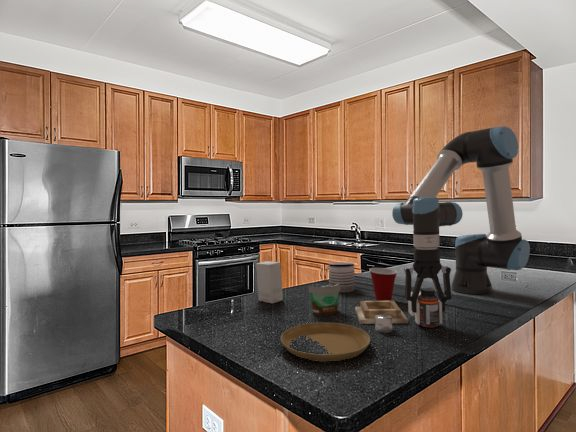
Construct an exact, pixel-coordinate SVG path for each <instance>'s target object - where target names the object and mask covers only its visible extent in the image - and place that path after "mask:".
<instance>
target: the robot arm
mask: <svg viewBox="0 0 576 432" xmlns="http://www.w3.org/2000/svg"><path fill="white" fill-rule="evenodd" d="M518 142H519V141H518V139H517V136H516V134H515V132H514V131H513V130H512V129H511V128H510V127H508V126H503V125H502V126H493V127H489V128H484V129H479V130H472V131H466V132H462V133H461V134H458V135H457V136H456V137H454V138H452V139H451V140H450V141H449V142H448V143H446V144H445V146H443V148H441V150H440V151H439V152H438V154H437V156H436V161H435V162H434V163H433V165H432V166H431V168H429V170H428V171H427V173H426V174H425V175H424V177H423V179H422V180H421V181H420V182H419V184H418V185H417V186H416V187H415V189H414V190H413V192H411V194H410V196H409V197H408V199H407V200H406V201H405V202H400V203H397V204H395V205H394V206H393V208H392V218H393V221H394V222H395V223H396V224H398V225H405V226H410V225H411V226H412V229H413V231H412V235H413V236H412V237H413V247H414V249H413V263H412V266H408V267H404V268H403V271H404V273H405V282H404V284H405V287H404V298H405V299H406V300H407V302H408V301H411V309H412V312H413V313H415V316H414V322H415V323H416V324H417V325H419V324H420V309H419V302H418V301H417V299H418V295H419V292H421V287H422V285H423V282H424V280H425V279H431V281H432V283H433V287H434V289H435V293H436V294H437V295H436V296H437V297H438V308H439V325H441V324H443V313H445V312H446V303H447V301H450V300H451V299H452V291H454V292H457V293H460V294H466V295H467V294H468V295H486V294H487V295H488V294H490V293H492V292H493V285H492V282H491V279H490V277H489V275H488V268H492V269H493V268H494V269H500V270H507V271H510V270H511V271H521V270H522V269H524V267H526V265H527V263H528V261H529V259H530V253H531V246H530V243H529V241H528V240H526V239H524V238H523V236H522V232H520V231H519V230H518V229H517V228H516V227H517V226H516V218H515V217H516V216H515V209H514V203H513V202H514V200H513V193H512V186H511V185H512V183H511V177H510V176H511V175H510V169H509V168H510V167H511V165H512V164H513V163H514V160H513V159H514V158H516V157H517V155H518V153H519V143H518ZM469 163H476V168H477V169H478V170H480V171H481V173H482V180H483V186H484V193H485V203H486V208H487V209H486V210H487V216H488V217H487V218H488V224H489V230H490V231H489V233H488V234H486V233H477V234H466V235H459V236H457V237H456V238H455V246H454V248H455V252H454V253H455V273H454V275H453V278H452V282H451V278H450V277H451V276H450V275H451V271H452V268H451V267H449V266H448V265H447V266H446V265H442V264H441V249H440V248H439V247H440V246H441V245H440V244H441V243H440V242H441V241H440V227H446V226H450V227H451V226H454V225H456V224H458V223H460V222H461V220H462V219H463V209H462V207H461V206H460V205H459V203H456V202H452V201H445V202H444V201H443V202H440V201H439V198H438V197H437V196H439V193H440V192H441V190H442V189H443V188H444V186H445V185H446V184H447V182H448V181H449V179H450V178H451V177H452V175H453V173H454V172H455V171H458V170H459V169H461V168H462V166H463V165H465V164H469ZM440 271H441V273H442V278H443V279H442V282H443V288H442V286H441V284H440V283H441V282H440V279H439V277H438V274H439V273H440ZM413 272H415V273H416V278H415V279H416V280H415V284H414V285H413V286H414V287H413V289H412V275H413ZM443 291H444V292H443ZM411 292H413V293H412V296H411Z"/></svg>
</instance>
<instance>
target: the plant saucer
mask: <svg viewBox="0 0 576 432" xmlns="http://www.w3.org/2000/svg"><path fill="white" fill-rule="evenodd" d="M302 335H303V336H304V335H305V336H306V340H308V339H309V338H311V339H313V340H312V341H317V342H319V343H320V344H318V345H321V344H322V345H321V346H325V347H323V348H327V349H326V350H328V351H327V352H328V353H329V354H312V353H306V352H301V351H297V350H294V349H292V348H290V347H289V345H292V344H290V343H291V342H292V340H294V341H295V340H297V339H296V338H297V337H299V336H302ZM309 335H310V337H309ZM308 337H309V338H308ZM280 341H281V342H280V343H282V345H283V347H284V349H286V350H287V351H288V352H289V353H291V354H292V355H293V354H294V355H293V356H295V355H296V356H295V357H297V356H298V357H297V358H299V357H301V358H300V359H302V358H305V359H310V360H317V361H339V360H344V361H346V360H345V359H348V360H351V359H353V357H354V358H355V357H358V356H359V355H361V354H362V353H363V352H364V351H365V350H366V349H367V348H368V346H369V344H370V342H371V337H370V334H368V333H367V331H365V330H363V329H362V328H359V327H356V326H354V325H350V324H349V325H348V324H344V323H340V322H339V323H337V322H309V323H303V324H299V325H295V326H292V327H290V328H288V329H287V330H284V332H282V333H281V335H280ZM294 341H293V342H294ZM293 345H294V344H293ZM331 353H332V354H331ZM340 353H341V354H340ZM350 358H351V359H350ZM305 359H304V360H305ZM339 362H340V361H339Z"/></svg>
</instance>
